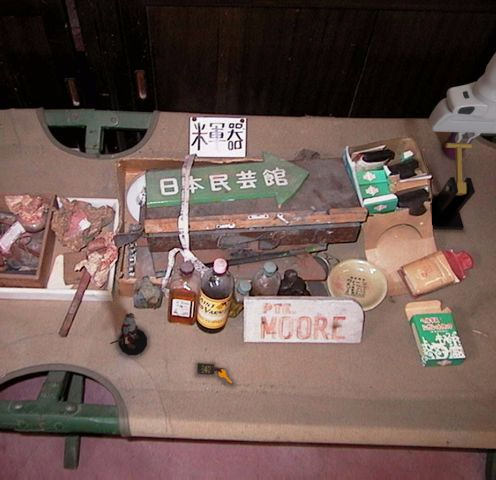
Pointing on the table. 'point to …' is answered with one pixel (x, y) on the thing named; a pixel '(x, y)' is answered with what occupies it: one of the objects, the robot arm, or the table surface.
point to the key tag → (212, 371)
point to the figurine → (131, 337)
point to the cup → (452, 151)
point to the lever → (459, 165)
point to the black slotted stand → (450, 205)
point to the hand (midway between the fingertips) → (461, 141)
